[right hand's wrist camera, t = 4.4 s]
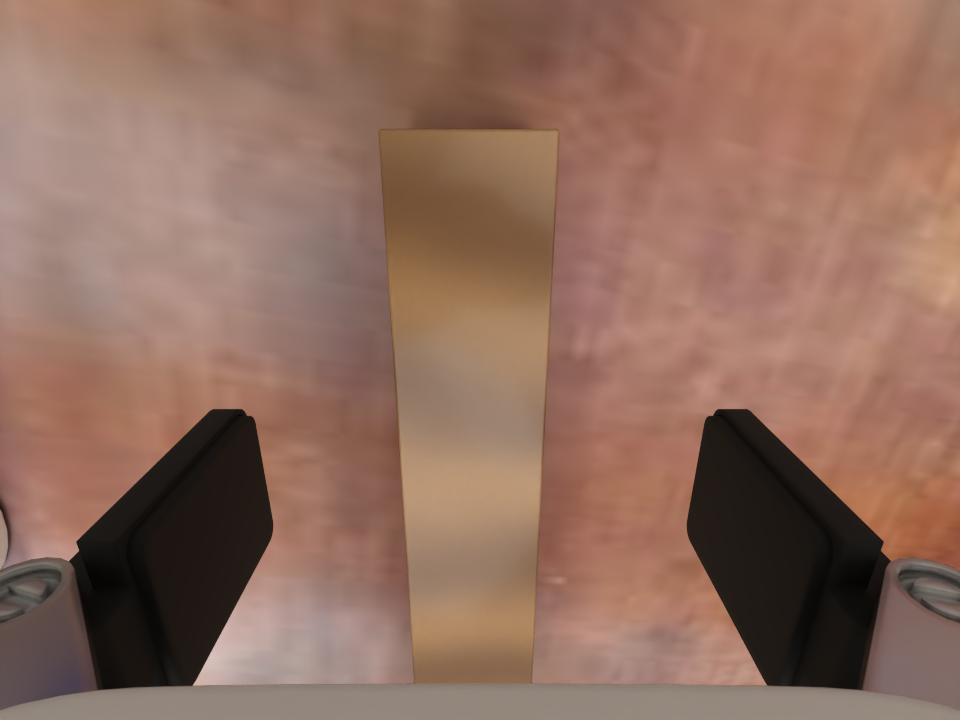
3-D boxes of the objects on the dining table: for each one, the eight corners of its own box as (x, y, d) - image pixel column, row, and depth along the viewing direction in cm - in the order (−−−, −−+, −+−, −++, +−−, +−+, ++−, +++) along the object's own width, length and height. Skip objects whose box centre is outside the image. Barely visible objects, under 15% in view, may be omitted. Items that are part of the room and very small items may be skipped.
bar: (407, 135, 23) (378, 129, 16) (533, 135, 23) (560, 129, 16) (443, 911, 45) (438, 1051, 38) (507, 910, 45) (513, 1049, 38)
